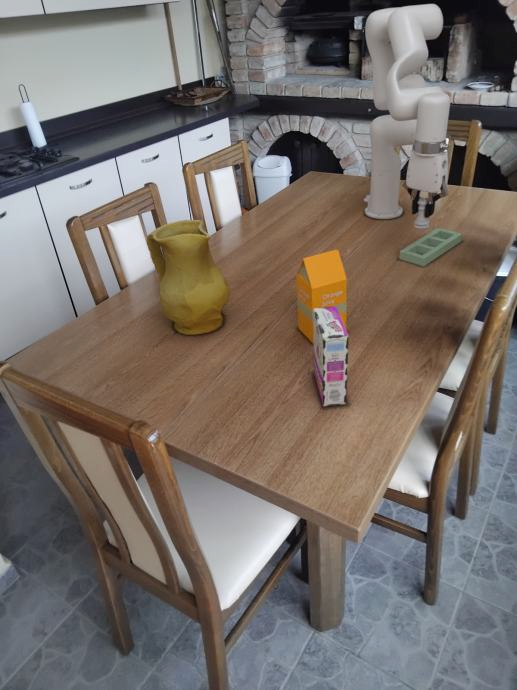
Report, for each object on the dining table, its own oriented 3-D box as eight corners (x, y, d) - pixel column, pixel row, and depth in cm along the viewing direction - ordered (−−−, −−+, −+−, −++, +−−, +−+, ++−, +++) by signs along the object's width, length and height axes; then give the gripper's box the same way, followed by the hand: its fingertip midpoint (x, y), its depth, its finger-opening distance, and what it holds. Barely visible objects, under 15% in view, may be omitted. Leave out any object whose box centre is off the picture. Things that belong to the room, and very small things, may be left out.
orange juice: (298, 328, 130) (294, 252, 119) (330, 318, 132) (329, 242, 121) (313, 344, 124) (311, 265, 113) (346, 333, 126) (347, 255, 115)
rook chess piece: (430, 229, 148) (433, 201, 144) (413, 230, 149) (415, 201, 145) (429, 224, 152) (431, 196, 148) (413, 224, 153) (414, 196, 149)
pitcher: (178, 348, 126) (160, 246, 113) (154, 317, 141) (136, 224, 128) (244, 327, 132) (234, 229, 119) (214, 300, 147) (203, 209, 134)
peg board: (399, 259, 156) (399, 251, 155) (437, 235, 167) (438, 227, 166) (423, 266, 151) (424, 258, 150) (461, 241, 162) (462, 233, 161)
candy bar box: (348, 405, 106) (349, 335, 97) (323, 407, 106) (322, 338, 96) (336, 370, 115) (337, 304, 106) (313, 373, 115) (311, 307, 106)
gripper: (466, 147, 135) (456, 216, 146) (409, 138, 145) (404, 203, 156) (451, 155, 131) (442, 226, 142) (393, 145, 141) (389, 212, 152)
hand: (422, 213), depth 149 cm, fingers closed on rook chess piece, 3 cm apart
